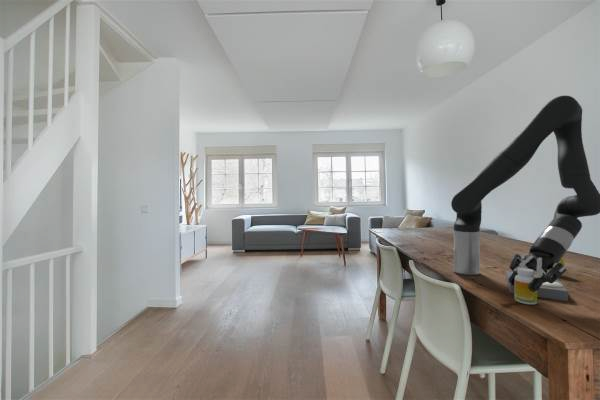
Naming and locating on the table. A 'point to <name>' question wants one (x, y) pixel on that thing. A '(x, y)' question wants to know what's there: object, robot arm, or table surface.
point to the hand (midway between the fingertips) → (521, 286)
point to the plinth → (545, 289)
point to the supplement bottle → (524, 286)
